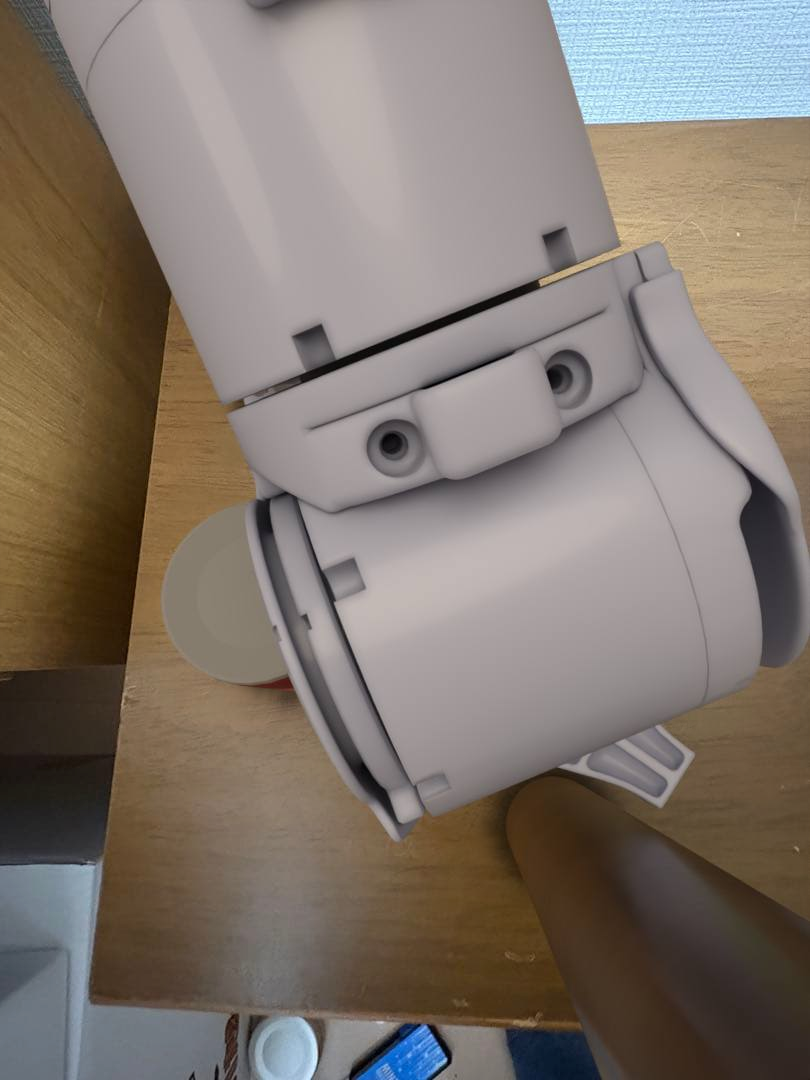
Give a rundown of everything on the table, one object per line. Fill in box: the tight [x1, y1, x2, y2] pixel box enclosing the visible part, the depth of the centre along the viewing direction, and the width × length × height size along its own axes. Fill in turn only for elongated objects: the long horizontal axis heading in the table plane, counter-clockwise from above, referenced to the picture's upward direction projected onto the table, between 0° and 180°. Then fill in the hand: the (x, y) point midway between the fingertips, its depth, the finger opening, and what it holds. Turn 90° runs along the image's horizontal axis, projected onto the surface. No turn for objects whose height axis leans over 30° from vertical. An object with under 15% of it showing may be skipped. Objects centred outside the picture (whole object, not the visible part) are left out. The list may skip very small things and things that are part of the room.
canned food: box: [160, 501, 295, 692], centre depth 38 cm, size 8×8×11 cm
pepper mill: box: [505, 775, 810, 1080], centre depth 21 cm, size 5×5×40 cm
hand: (472, 659), depth 34 cm, fingers closed
